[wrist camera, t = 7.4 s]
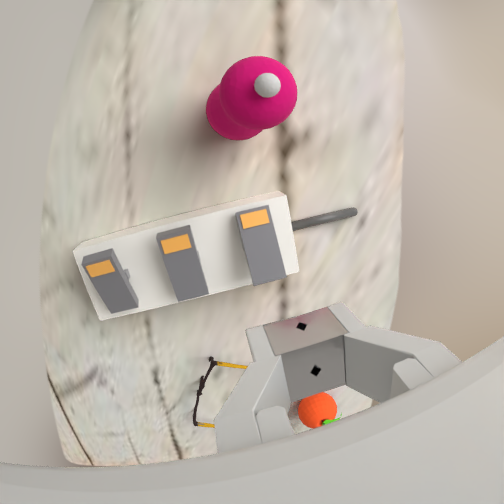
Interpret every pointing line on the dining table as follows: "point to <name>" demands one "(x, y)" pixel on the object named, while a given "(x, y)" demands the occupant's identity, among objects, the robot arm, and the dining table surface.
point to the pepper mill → (251, 98)
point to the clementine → (317, 410)
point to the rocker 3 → (260, 245)
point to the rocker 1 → (110, 281)
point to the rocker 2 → (182, 263)
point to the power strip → (208, 247)
